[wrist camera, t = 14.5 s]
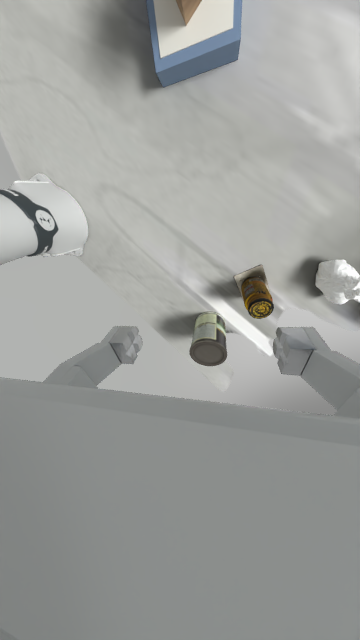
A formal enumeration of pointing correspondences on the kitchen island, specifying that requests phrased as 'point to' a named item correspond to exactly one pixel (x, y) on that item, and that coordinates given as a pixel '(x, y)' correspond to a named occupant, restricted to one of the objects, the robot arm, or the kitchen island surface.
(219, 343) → the coffee can
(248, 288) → the condiment
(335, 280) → the white rounded piece
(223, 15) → the pedestal
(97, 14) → the kitchen island surface
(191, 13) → the walnut block
